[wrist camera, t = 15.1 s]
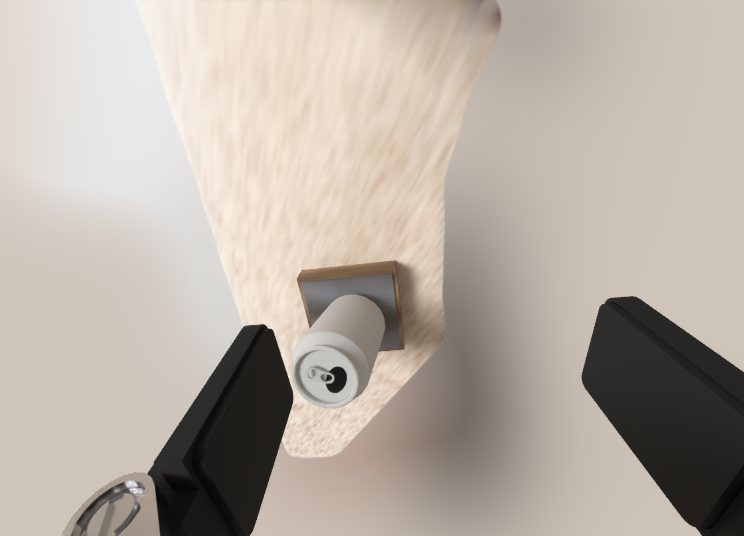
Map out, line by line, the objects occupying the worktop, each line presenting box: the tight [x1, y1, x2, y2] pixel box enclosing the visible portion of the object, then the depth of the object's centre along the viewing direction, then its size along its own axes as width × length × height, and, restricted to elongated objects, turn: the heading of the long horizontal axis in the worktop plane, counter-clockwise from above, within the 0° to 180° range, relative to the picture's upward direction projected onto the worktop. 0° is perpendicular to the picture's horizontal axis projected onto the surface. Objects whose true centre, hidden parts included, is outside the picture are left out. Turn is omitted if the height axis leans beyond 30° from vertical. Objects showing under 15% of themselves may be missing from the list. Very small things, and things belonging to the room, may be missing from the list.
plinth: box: [297, 261, 405, 351], centre depth 40 cm, size 12×12×3 cm
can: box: [291, 294, 385, 408], centre depth 32 cm, size 8×8×12 cm
